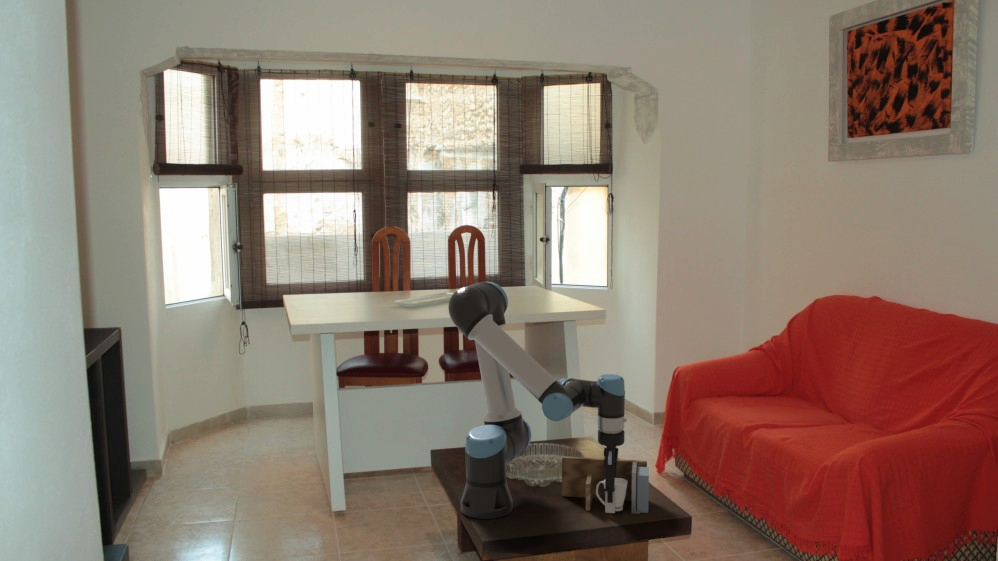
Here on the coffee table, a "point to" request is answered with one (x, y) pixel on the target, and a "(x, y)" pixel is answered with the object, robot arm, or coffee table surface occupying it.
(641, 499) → the shelved book
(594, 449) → the coffee table surface
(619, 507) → the cup
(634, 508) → the bookend
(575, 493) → the shelf wall
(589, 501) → the divider
